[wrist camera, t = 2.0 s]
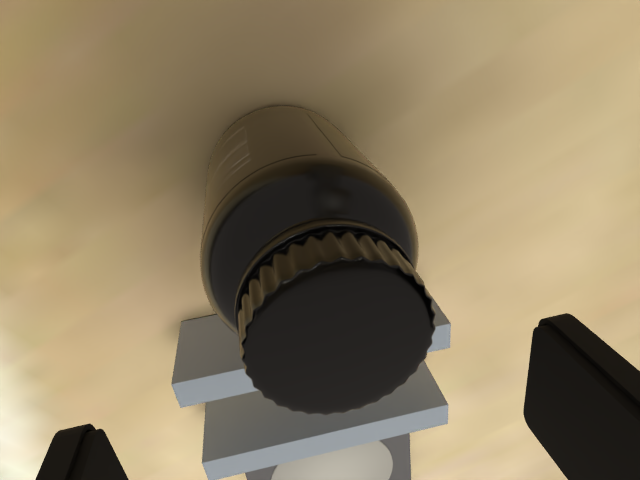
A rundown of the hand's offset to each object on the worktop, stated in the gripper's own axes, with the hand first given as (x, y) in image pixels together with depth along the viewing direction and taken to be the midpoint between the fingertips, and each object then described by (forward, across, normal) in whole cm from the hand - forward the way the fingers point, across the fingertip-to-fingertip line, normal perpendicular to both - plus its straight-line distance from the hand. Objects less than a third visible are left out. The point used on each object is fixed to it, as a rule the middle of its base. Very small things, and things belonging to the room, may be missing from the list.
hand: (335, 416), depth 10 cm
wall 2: (+14, 0, +12) cm, 18 cm away
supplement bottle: (+13, 0, -1) cm, 13 cm away
